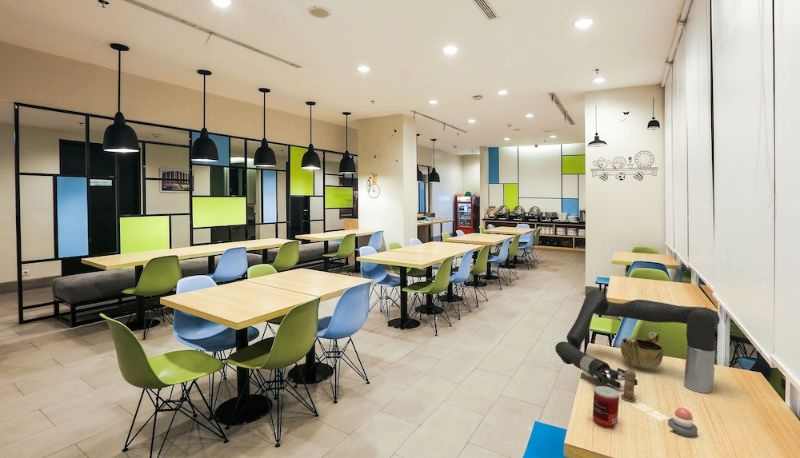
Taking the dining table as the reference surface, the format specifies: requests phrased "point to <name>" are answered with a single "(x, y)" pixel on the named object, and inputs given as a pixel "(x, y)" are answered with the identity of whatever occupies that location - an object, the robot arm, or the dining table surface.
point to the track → (645, 408)
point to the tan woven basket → (642, 351)
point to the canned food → (605, 406)
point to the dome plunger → (683, 418)
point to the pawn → (629, 386)
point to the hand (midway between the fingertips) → (628, 384)
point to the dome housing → (683, 429)
